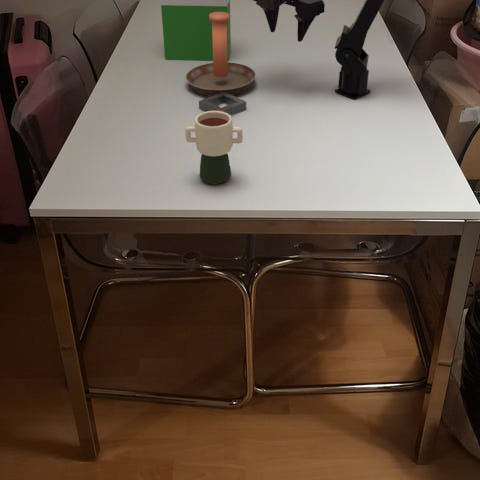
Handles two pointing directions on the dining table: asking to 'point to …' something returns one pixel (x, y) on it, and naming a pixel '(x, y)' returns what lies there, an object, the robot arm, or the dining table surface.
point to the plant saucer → (220, 79)
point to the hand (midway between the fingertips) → (286, 36)
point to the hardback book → (191, 28)
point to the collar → (232, 101)
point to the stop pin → (219, 43)
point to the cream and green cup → (214, 144)
